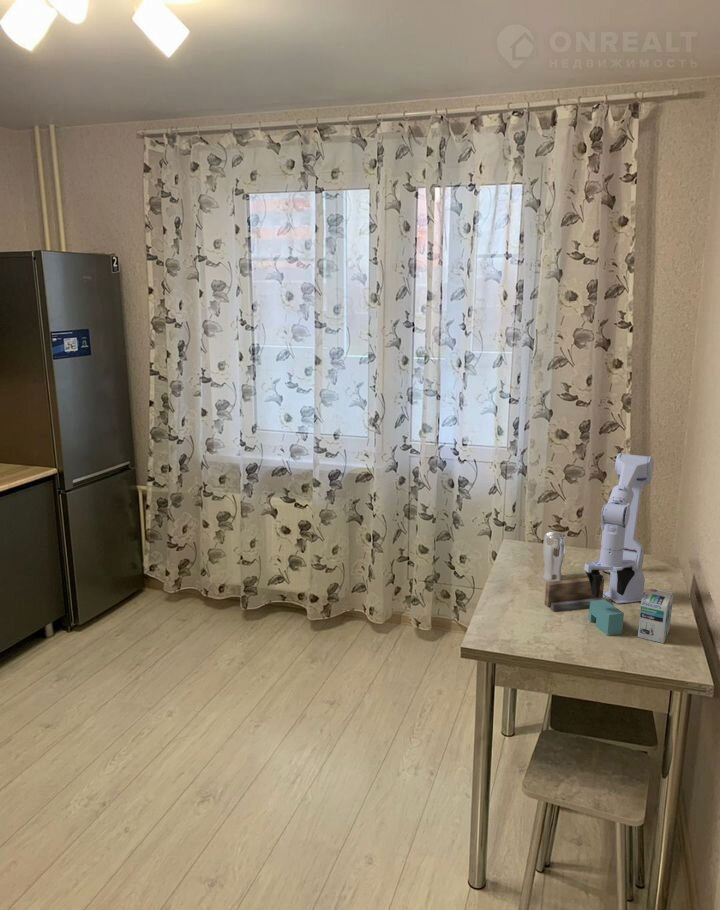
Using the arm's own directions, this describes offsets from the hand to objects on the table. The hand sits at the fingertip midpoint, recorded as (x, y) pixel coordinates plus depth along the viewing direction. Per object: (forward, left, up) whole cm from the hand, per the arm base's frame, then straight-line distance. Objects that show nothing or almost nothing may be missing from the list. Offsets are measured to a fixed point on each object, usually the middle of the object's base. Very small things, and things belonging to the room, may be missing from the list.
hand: (607, 594), depth 187 cm
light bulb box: (-11, +6, -10) cm, 16 cm away
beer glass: (-3, -34, -10) cm, 36 cm away
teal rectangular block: (0, 0, -10) cm, 10 cm away
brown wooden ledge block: (0, -15, -10) cm, 18 cm away
